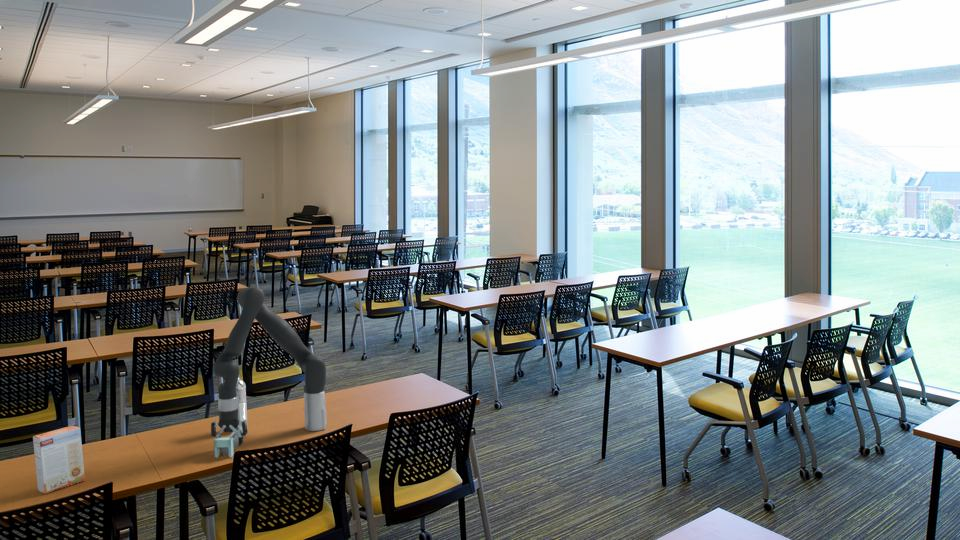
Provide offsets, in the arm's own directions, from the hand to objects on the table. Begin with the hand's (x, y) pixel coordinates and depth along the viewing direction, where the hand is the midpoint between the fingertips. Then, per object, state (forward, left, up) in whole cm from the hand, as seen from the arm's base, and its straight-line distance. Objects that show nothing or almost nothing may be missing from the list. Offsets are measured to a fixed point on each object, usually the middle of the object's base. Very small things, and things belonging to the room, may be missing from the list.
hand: (229, 445), depth 287 cm
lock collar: (0, +8, -2) cm, 8 cm away
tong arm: (+1, -6, -2) cm, 6 cm away
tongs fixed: (0, -4, -2) cm, 5 cm away
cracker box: (+51, +33, -2) cm, 61 cm away
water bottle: (+3, -24, -2) cm, 24 cm away
